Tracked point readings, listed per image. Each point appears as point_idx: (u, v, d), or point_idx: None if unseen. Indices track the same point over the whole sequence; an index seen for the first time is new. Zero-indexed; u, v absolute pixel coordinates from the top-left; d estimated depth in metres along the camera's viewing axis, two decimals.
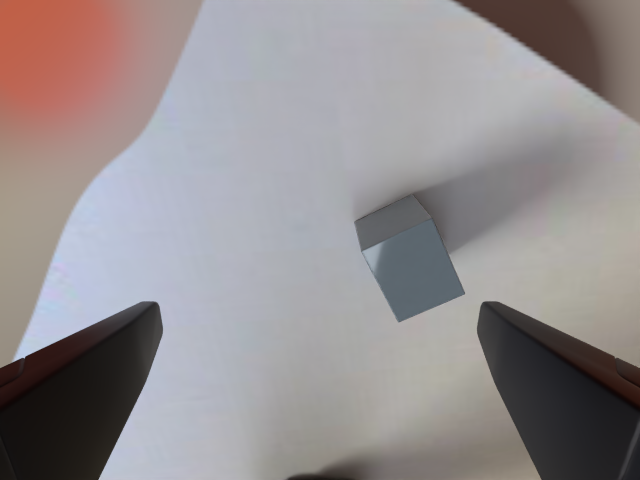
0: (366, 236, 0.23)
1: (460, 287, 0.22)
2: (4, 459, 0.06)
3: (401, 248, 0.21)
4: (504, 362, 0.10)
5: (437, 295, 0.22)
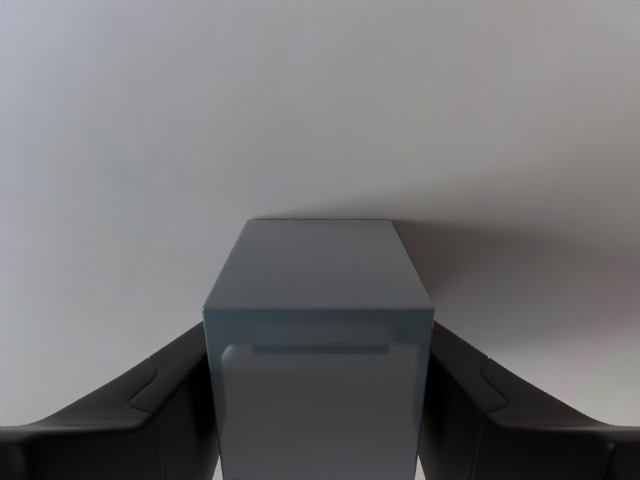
0: (245, 266, 0.08)
1: None
2: (159, 459, 0.06)
3: (315, 348, 0.07)
4: None
5: None
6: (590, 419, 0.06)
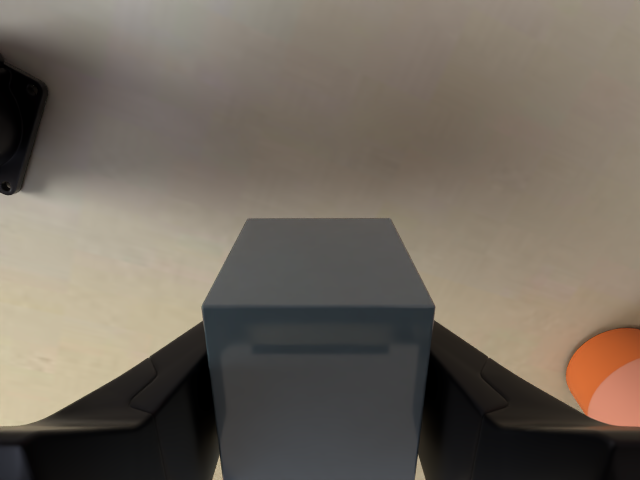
0: (245, 265, 0.08)
1: None
2: (159, 459, 0.06)
3: (315, 346, 0.07)
4: None
5: None
6: (590, 419, 0.06)
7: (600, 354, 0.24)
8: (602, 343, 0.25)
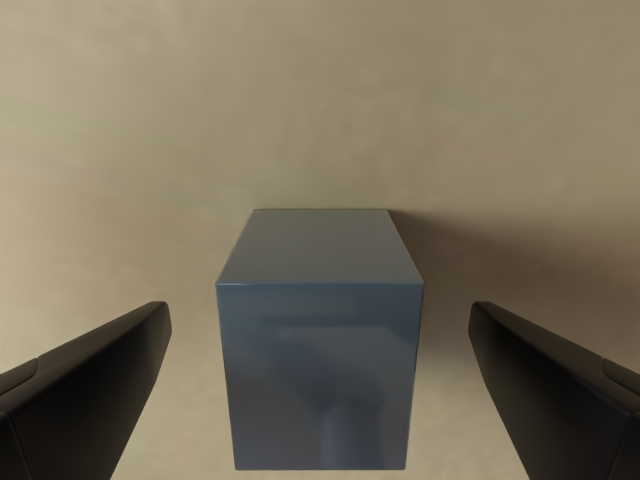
0: (252, 249, 0.09)
1: (402, 454, 0.09)
2: (20, 459, 0.06)
3: (316, 319, 0.08)
4: (494, 362, 0.10)
5: (346, 451, 0.09)
6: None
7: None
8: None
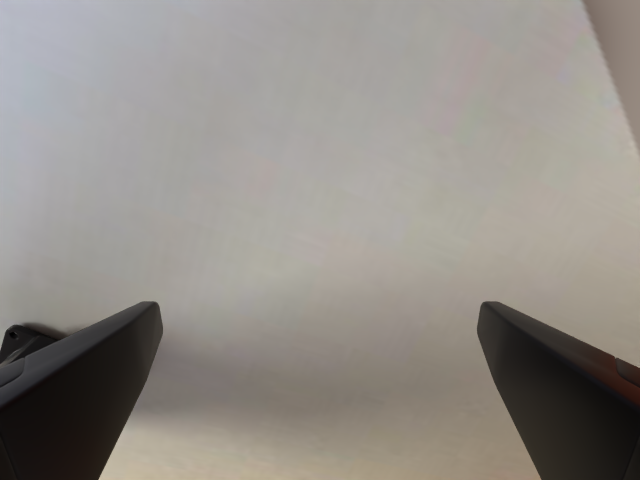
0: None
1: None
2: (4, 459, 0.06)
3: None
4: (504, 362, 0.10)
5: None
6: None
7: None
8: None
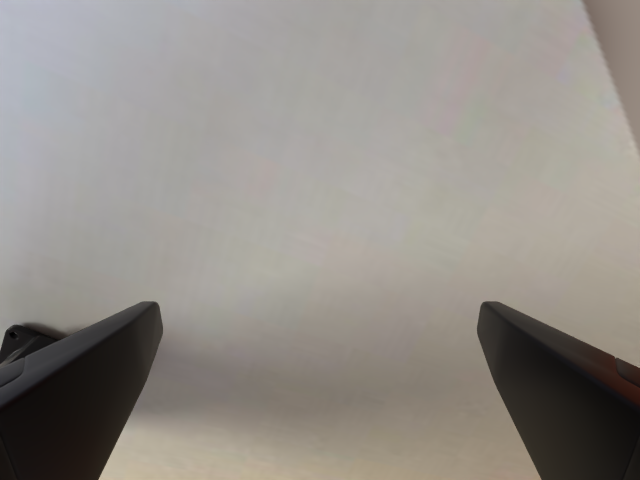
0: None
1: None
2: (4, 459, 0.06)
3: None
4: (504, 362, 0.10)
5: None
6: None
7: None
8: None
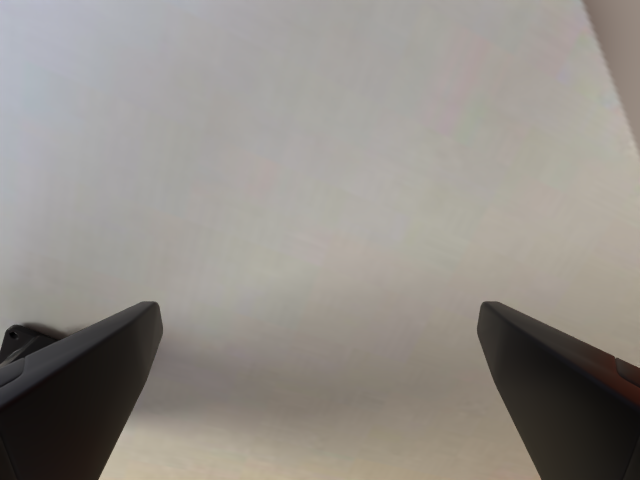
0: None
1: None
2: (4, 459, 0.06)
3: None
4: (504, 362, 0.10)
5: None
6: None
7: None
8: None
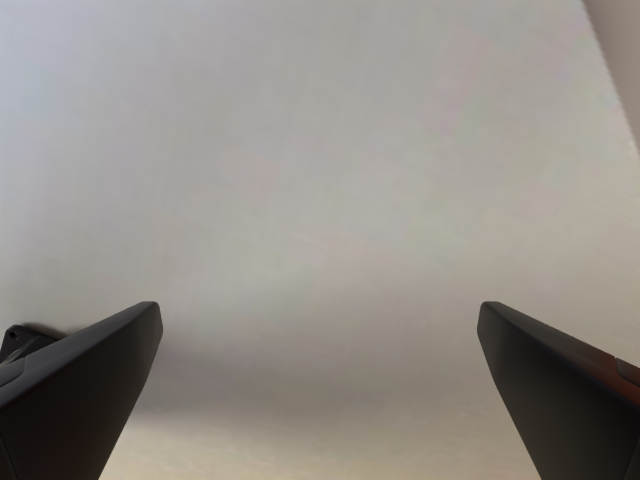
0: None
1: None
2: (4, 459, 0.06)
3: None
4: (504, 362, 0.10)
5: None
6: None
7: None
8: None
